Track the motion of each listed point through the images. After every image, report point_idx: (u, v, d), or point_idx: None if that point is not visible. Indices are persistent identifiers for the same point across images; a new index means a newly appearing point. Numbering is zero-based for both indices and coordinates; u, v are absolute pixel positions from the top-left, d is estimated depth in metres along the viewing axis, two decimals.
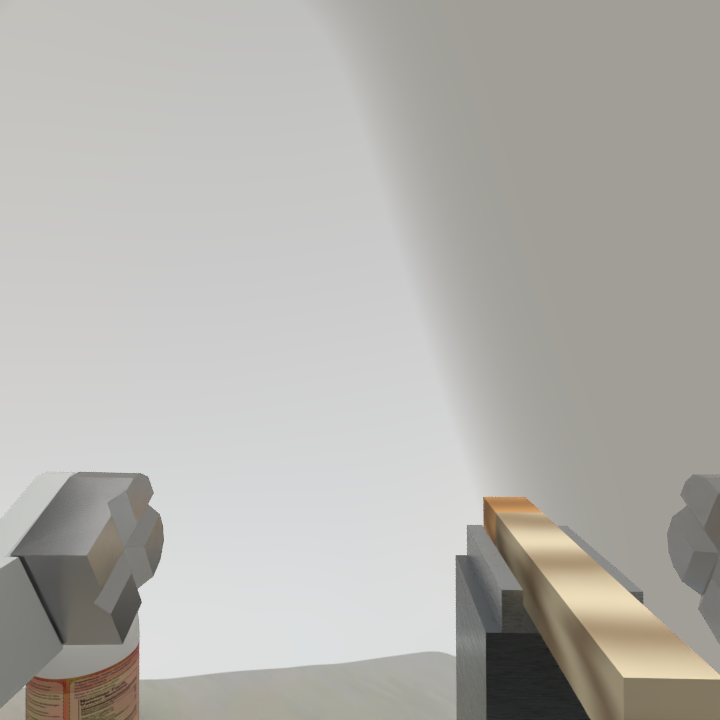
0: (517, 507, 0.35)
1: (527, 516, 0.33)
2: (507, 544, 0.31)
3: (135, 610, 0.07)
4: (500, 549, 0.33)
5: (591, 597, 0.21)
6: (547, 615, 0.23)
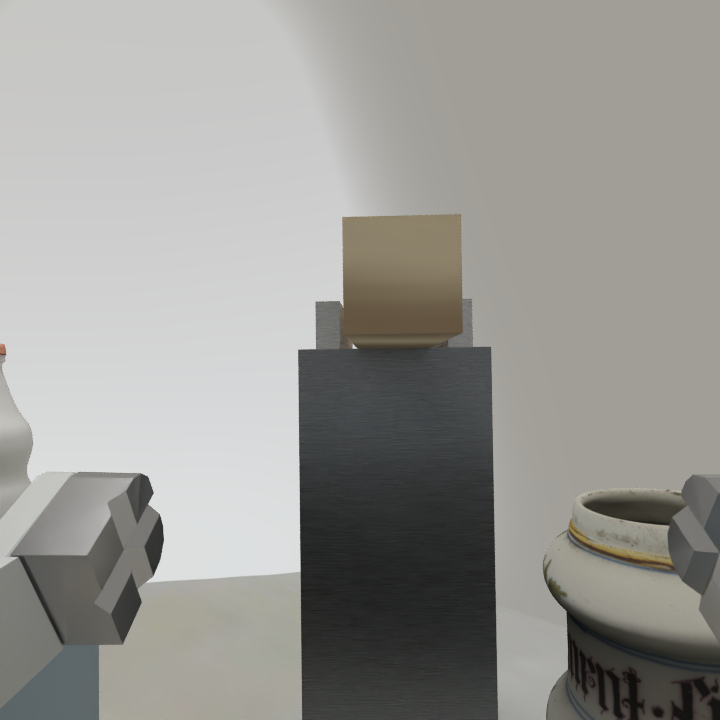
0: None
1: None
2: None
3: (135, 610, 0.07)
4: None
5: None
6: None
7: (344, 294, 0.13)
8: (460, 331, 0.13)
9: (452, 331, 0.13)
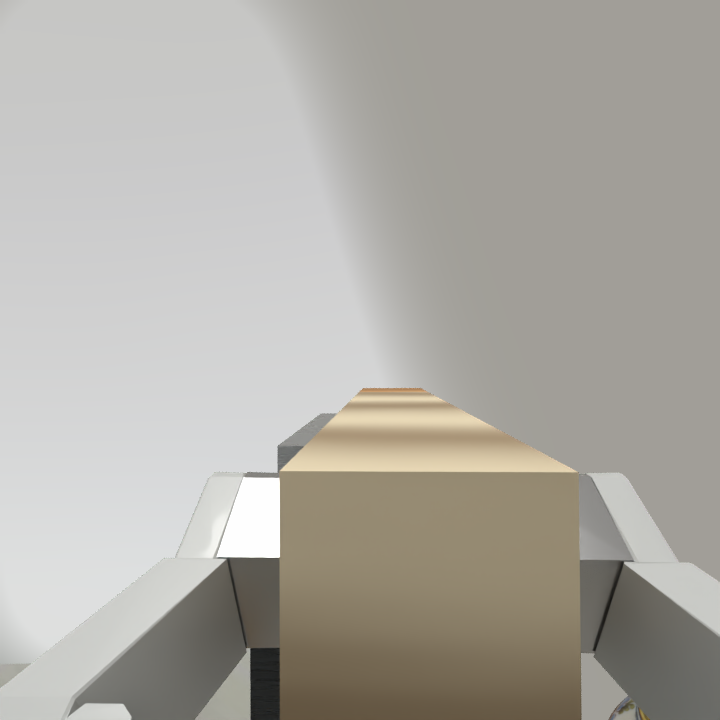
0: (397, 390, 0.24)
1: (401, 392, 0.22)
2: None
3: None
4: None
5: (391, 418, 0.11)
6: None
7: (282, 668, 0.05)
8: None
9: None
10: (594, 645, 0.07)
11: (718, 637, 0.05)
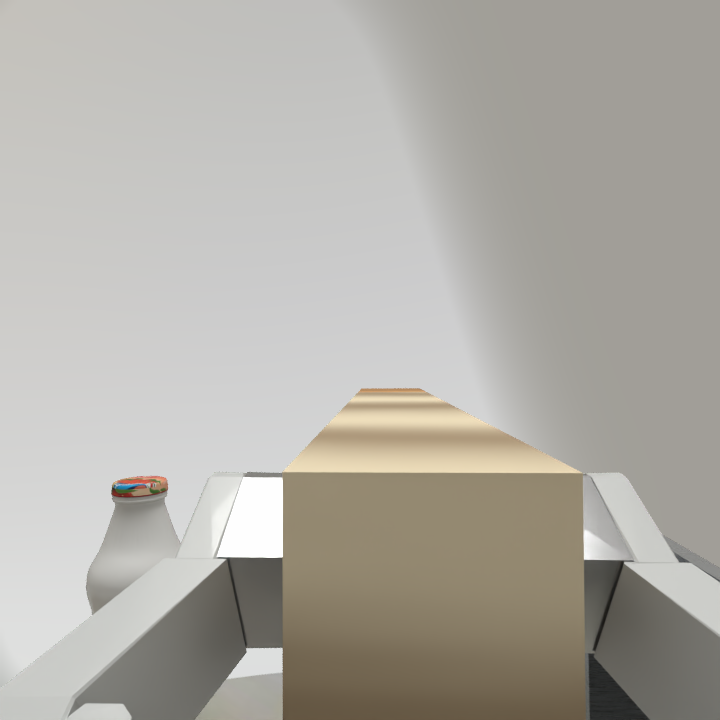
0: None
1: None
2: None
3: None
4: None
5: (391, 418, 0.11)
6: None
7: (285, 670, 0.05)
8: None
9: None
10: (594, 645, 0.07)
11: (718, 637, 0.05)
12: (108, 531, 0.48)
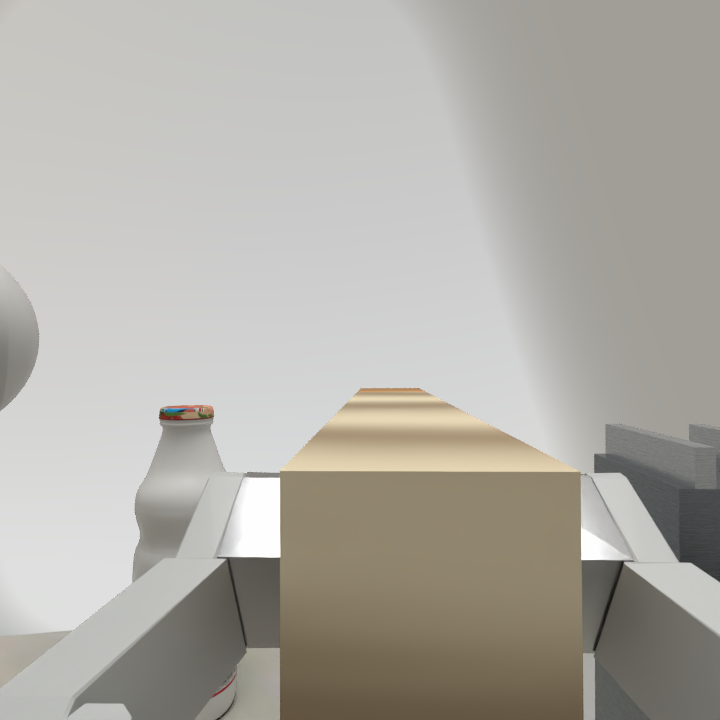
0: (395, 390, 0.24)
1: (399, 392, 0.22)
2: None
3: None
4: None
5: (390, 418, 0.11)
6: None
7: (283, 669, 0.05)
8: None
9: None
10: (594, 645, 0.07)
11: (718, 637, 0.05)
12: (156, 455, 0.48)
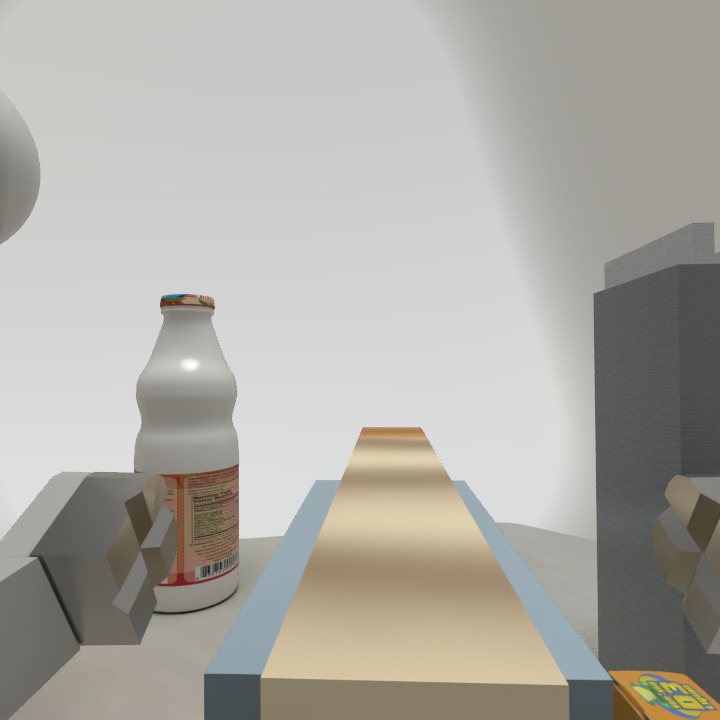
0: (397, 434, 0.24)
1: (400, 440, 0.22)
2: None
3: (151, 610, 0.07)
4: None
5: (385, 518, 0.11)
6: None
7: None
8: None
9: None
10: None
11: None
12: (157, 342, 0.48)
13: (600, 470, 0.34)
